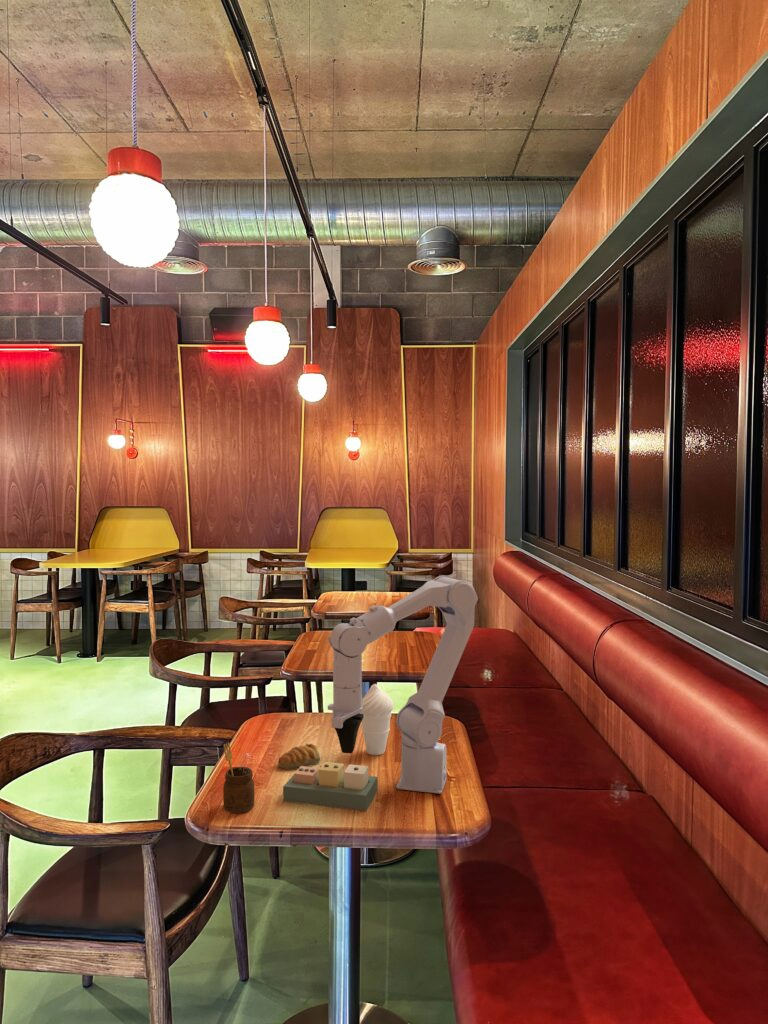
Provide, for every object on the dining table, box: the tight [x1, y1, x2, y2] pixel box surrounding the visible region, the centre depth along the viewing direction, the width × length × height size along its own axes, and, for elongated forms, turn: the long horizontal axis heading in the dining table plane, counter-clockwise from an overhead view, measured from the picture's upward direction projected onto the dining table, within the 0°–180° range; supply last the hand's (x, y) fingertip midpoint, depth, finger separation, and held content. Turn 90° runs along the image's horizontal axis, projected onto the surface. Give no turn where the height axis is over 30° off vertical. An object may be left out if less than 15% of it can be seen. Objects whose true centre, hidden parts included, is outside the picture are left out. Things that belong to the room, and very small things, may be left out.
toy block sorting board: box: [282, 774, 379, 812], centre depth 139 cm, size 17×9×3 cm, turn 77°
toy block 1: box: [293, 766, 320, 785], centre depth 140 cm, size 4×4×5 cm
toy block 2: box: [319, 761, 345, 787], centre depth 139 cm, size 4×4×5 cm
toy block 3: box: [344, 764, 369, 790], centre depth 137 cm, size 4×4×5 cm
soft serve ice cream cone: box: [361, 683, 395, 756], centre depth 162 cm, size 8×8×16 cm
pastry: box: [277, 743, 321, 770], centre depth 155 cm, size 9×7×4 cm
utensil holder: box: [222, 741, 255, 814], centre depth 133 cm, size 6×6×12 cm
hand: (347, 751), depth 138 cm, fingers closed
